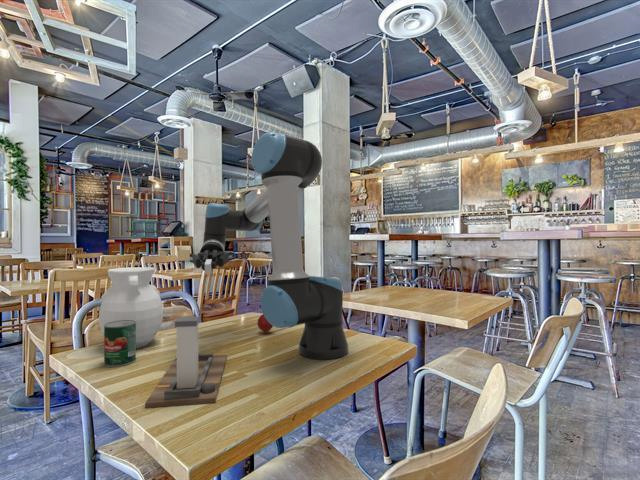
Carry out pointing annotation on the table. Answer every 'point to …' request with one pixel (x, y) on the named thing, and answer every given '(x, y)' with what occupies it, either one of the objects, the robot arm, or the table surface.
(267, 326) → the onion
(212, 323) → the table surface
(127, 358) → the canned tomato
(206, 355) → the brown board with rails
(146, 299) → the pitcher
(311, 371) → the table surface
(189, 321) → the grey rectangular block
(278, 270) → the robot arm
